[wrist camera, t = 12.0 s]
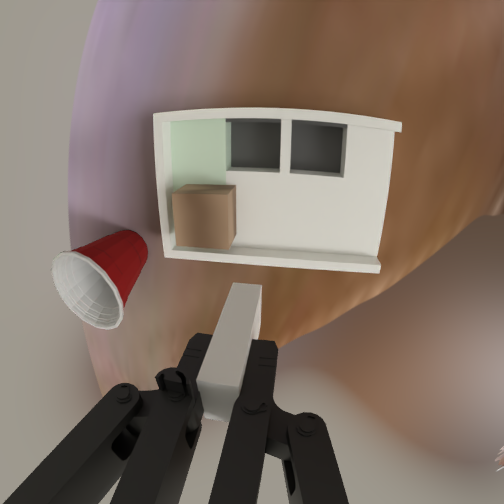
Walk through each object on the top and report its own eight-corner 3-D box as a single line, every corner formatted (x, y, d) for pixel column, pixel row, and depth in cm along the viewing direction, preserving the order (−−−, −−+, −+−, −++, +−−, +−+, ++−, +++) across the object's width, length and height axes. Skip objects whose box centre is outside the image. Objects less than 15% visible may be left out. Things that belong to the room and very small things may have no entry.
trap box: (386, 121, 26) (401, 122, 22) (369, 253, 33) (379, 273, 29) (172, 113, 29) (153, 113, 25) (179, 239, 36) (164, 257, 32)
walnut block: (236, 185, 29) (227, 194, 26) (236, 234, 32) (228, 249, 28) (186, 184, 30) (171, 193, 26) (189, 231, 32) (176, 246, 29)
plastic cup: (95, 259, 40) (48, 301, 29) (110, 200, 35) (51, 234, 25) (151, 294, 41) (113, 347, 31) (175, 237, 36) (130, 287, 26)
